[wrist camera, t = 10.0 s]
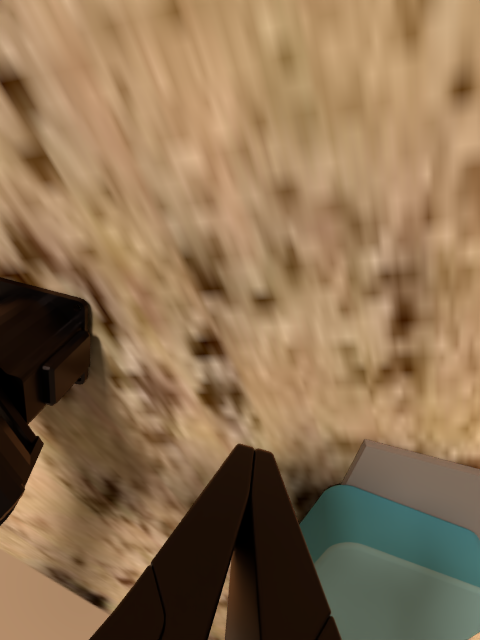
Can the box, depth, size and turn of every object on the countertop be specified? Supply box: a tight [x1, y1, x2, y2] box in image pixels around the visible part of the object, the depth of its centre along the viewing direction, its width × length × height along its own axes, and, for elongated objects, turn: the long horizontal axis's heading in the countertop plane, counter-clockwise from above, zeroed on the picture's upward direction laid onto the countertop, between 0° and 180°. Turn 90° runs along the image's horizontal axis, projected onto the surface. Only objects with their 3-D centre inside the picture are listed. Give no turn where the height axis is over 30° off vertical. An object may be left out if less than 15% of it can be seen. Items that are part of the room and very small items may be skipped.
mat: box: [341, 439, 480, 540], centre depth 28 cm, size 12×18×1 cm
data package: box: [300, 485, 480, 640], centre depth 27 cm, size 12×4×12 cm
